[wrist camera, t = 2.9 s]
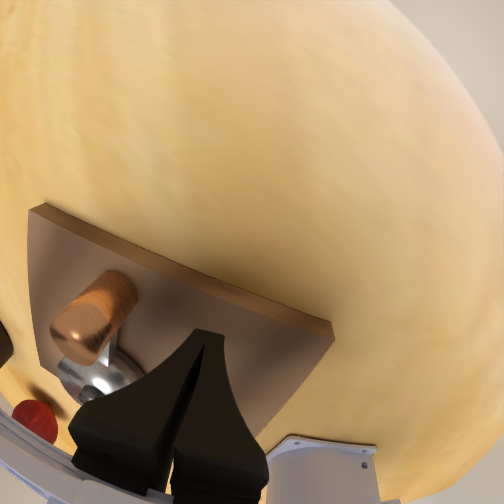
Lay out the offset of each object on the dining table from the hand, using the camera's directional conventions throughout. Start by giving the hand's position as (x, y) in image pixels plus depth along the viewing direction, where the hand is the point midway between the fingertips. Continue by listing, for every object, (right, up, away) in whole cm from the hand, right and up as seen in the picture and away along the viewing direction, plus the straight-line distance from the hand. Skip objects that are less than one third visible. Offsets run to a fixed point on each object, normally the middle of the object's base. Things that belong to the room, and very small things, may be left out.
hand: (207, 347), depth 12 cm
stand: (-5, -2, +4) cm, 7 cm away
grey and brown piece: (-6, -1, +2) cm, 7 cm away
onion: (-22, -13, +11) cm, 27 cm away
